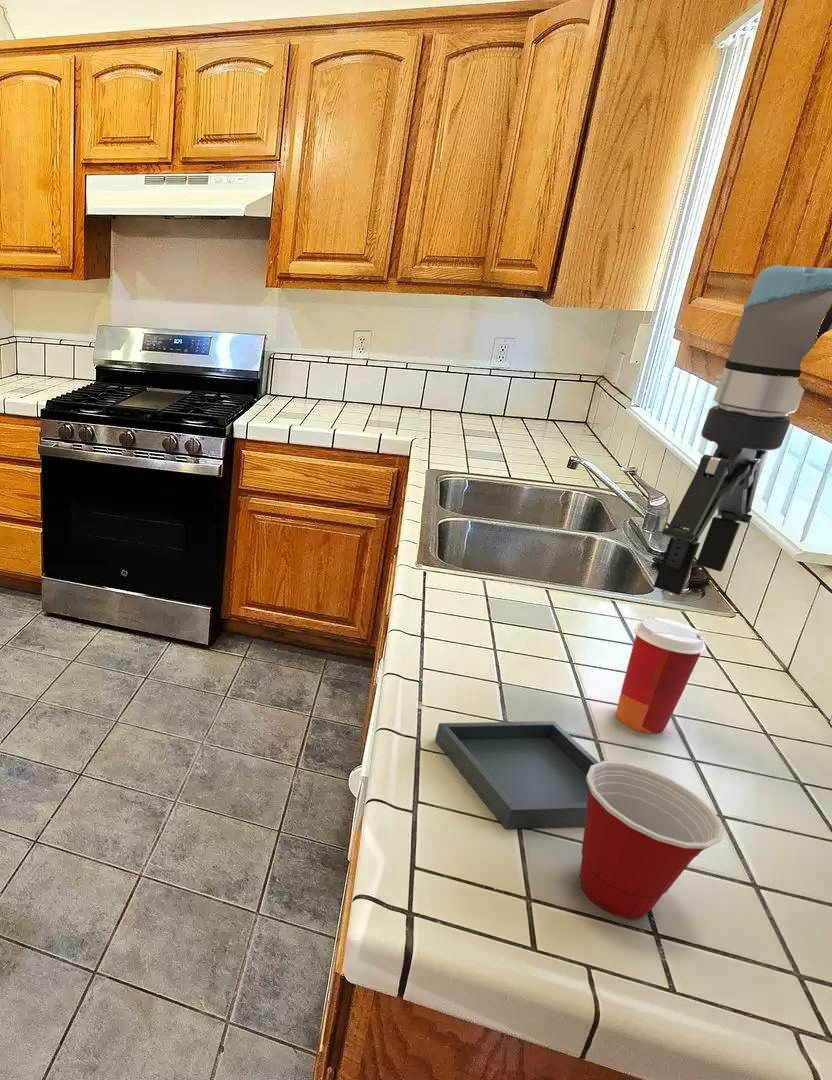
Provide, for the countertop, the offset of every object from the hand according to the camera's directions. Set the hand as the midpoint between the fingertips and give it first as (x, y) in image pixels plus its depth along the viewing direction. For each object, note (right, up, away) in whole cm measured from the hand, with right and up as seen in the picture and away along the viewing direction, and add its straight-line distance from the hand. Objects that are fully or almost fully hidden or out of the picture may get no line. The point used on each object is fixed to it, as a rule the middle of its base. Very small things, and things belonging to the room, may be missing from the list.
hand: (688, 578), depth 94 cm
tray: (-23, -24, -5) cm, 33 cm away
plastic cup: (-23, -30, -21) cm, 43 cm away
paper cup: (-1, -20, +8) cm, 21 cm away
